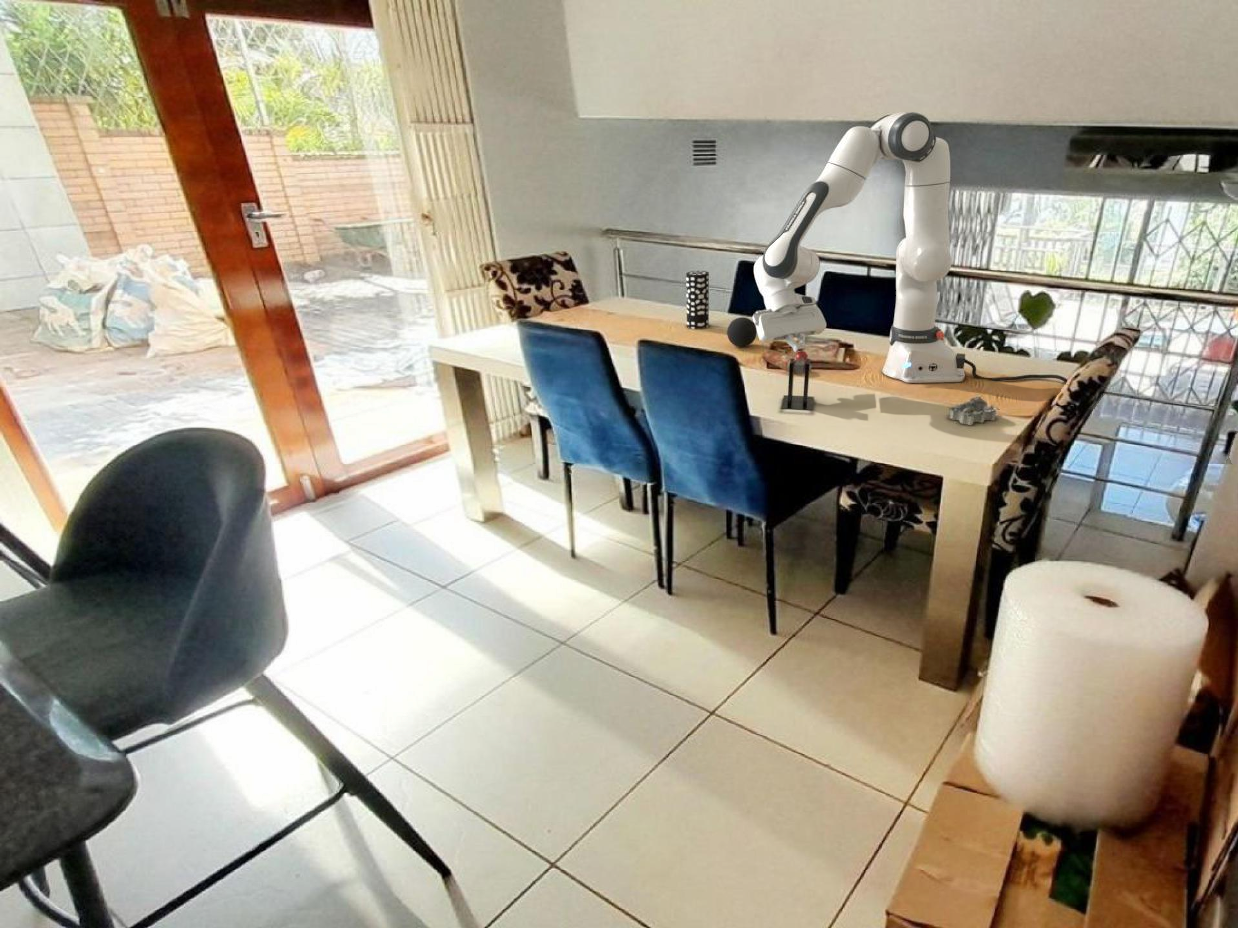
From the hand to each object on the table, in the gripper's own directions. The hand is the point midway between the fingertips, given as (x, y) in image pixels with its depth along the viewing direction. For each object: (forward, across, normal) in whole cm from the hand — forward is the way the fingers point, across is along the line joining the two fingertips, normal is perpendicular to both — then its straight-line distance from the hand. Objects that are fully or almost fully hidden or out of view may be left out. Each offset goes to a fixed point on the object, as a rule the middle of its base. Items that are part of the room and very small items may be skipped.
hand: (800, 350), depth 193 cm
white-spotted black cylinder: (-47, +8, +66) cm, 81 cm away
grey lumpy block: (+34, +28, -17) cm, 47 cm away
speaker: (-24, +9, +43) cm, 50 cm away
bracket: (+15, -6, +3) cm, 16 cm away
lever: (+5, -3, -1) cm, 6 cm away
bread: (-6, +8, +24) cm, 26 cm away
